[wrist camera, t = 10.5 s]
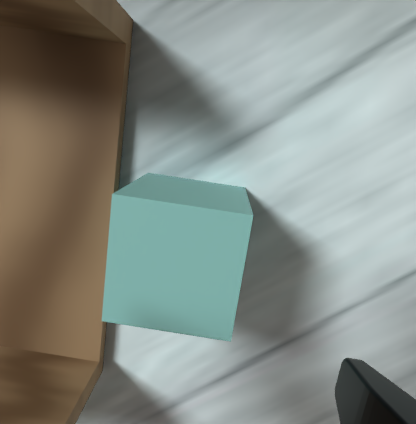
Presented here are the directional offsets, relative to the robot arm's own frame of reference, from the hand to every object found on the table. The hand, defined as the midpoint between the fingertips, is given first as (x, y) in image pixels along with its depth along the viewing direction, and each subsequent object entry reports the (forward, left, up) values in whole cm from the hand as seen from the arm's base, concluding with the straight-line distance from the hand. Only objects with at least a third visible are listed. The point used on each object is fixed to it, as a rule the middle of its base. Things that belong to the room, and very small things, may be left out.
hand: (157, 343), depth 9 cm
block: (0, 0, -11) cm, 11 cm away
